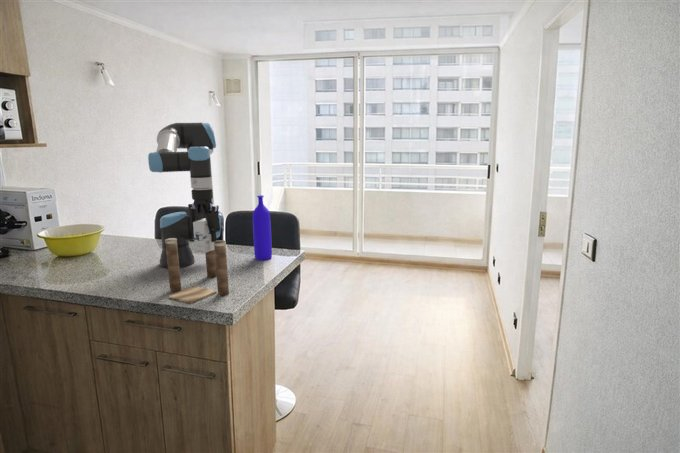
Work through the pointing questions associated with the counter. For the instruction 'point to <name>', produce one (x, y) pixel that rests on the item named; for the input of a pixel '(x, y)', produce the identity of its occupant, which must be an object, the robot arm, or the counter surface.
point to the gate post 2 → (211, 264)
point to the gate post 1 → (173, 264)
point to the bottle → (262, 231)
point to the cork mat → (192, 294)
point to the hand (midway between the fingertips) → (206, 248)
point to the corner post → (221, 267)
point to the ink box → (201, 236)
